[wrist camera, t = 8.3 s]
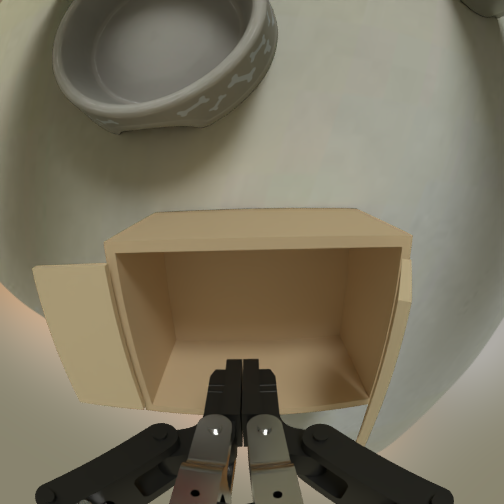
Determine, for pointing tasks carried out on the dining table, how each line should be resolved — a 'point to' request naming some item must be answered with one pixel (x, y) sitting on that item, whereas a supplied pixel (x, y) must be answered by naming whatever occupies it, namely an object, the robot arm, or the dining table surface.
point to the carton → (257, 301)
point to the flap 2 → (389, 350)
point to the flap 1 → (88, 333)
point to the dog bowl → (162, 59)
